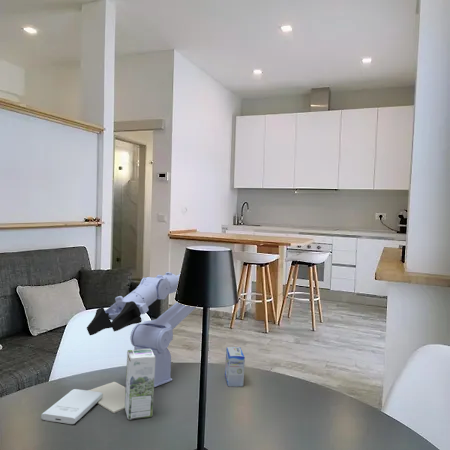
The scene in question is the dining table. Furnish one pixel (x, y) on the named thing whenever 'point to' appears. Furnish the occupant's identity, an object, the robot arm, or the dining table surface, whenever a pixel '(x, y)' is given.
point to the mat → (112, 396)
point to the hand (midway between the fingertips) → (100, 329)
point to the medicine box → (234, 367)
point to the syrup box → (139, 383)
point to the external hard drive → (72, 406)
